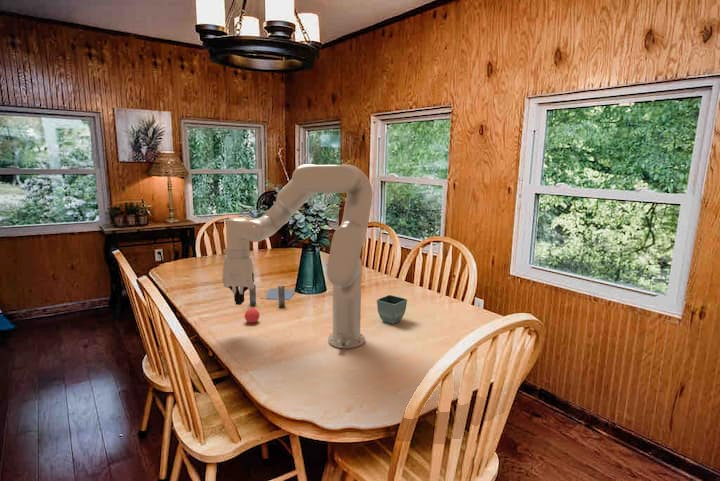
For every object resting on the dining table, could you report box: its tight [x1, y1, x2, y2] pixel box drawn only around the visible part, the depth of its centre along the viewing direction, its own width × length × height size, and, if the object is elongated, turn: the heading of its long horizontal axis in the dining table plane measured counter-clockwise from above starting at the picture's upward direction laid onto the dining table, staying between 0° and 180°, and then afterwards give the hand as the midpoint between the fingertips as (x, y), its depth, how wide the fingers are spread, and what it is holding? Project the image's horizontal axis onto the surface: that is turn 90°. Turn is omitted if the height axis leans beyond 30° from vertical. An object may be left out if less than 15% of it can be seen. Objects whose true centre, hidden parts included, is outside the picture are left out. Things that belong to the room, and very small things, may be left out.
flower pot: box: [376, 294, 408, 325], centre depth 160 cm, size 9×9×9 cm
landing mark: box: [265, 288, 296, 301], centre depth 191 cm, size 14×14×1 cm
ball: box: [244, 307, 260, 324], centre depth 157 cm, size 6×6×6 cm
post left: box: [248, 284, 257, 307], centre depth 175 cm, size 3×3×9 cm
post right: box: [277, 285, 286, 309], centre depth 174 cm, size 3×3×9 cm
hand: (239, 303), depth 146 cm, fingers closed
